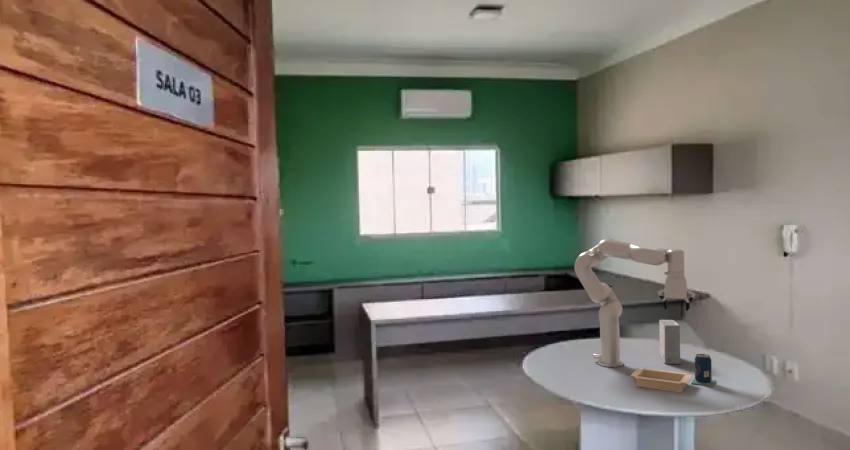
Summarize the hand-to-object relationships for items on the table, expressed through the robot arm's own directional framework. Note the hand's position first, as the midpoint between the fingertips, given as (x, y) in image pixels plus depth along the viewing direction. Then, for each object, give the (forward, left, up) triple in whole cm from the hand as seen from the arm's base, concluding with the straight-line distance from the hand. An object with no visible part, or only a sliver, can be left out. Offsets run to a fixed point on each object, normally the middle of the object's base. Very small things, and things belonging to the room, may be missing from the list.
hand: (676, 309), depth 294 cm
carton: (-2, -26, -30) cm, 40 cm away
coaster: (+14, -14, -30) cm, 36 cm away
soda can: (+14, -14, -30) cm, 36 cm away
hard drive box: (-7, +18, -31) cm, 36 cm away
